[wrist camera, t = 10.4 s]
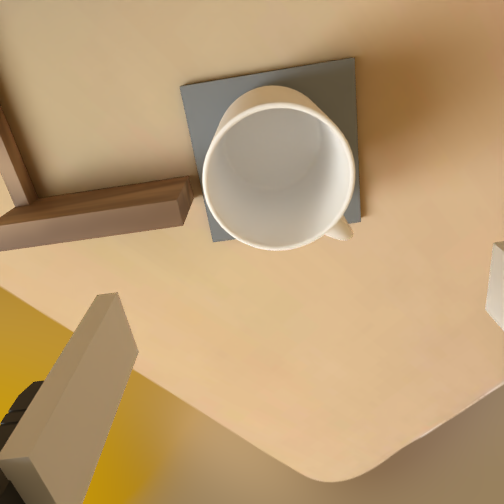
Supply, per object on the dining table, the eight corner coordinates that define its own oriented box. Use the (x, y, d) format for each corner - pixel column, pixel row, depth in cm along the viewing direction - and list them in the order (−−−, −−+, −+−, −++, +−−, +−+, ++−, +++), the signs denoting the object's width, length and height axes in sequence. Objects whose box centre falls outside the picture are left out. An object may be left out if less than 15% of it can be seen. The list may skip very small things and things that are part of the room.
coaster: (181, 85, 32) (179, 86, 31) (352, 57, 31) (354, 57, 30) (213, 238, 38) (213, 242, 37) (358, 218, 37) (360, 221, 36)
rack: (-73, -33, 28) (-149, -51, 23) (132, -73, 27) (102, -101, 22) (33, 221, 37) (-4, 252, 32) (193, 198, 36) (182, 225, 30)
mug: (298, 239, 37) (314, 308, 27) (194, 143, 33) (170, 184, 23) (375, 169, 34) (423, 220, 24) (271, 57, 30) (280, 64, 21)
